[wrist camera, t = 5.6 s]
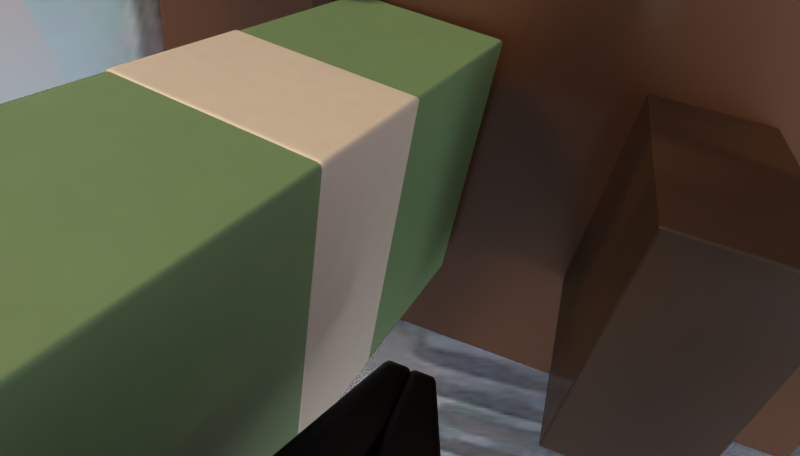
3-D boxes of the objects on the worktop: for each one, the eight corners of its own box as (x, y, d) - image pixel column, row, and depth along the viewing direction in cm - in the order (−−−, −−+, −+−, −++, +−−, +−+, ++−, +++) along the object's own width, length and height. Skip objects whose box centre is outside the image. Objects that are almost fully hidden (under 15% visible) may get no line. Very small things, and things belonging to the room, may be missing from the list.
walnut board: (190, 230, 22) (55, 348, 17) (155, -223, 14) (-137, -269, 8) (780, 444, 18) (841, 681, 13) (1226, 2, 10) (1883, 168, 5)
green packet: (384, 204, 19) (-64, 305, 13) (422, -8, 15) (-211, -9, 9) (583, 420, 13) (-58, 789, 7) (734, 171, 9) (-481, 536, 3)
